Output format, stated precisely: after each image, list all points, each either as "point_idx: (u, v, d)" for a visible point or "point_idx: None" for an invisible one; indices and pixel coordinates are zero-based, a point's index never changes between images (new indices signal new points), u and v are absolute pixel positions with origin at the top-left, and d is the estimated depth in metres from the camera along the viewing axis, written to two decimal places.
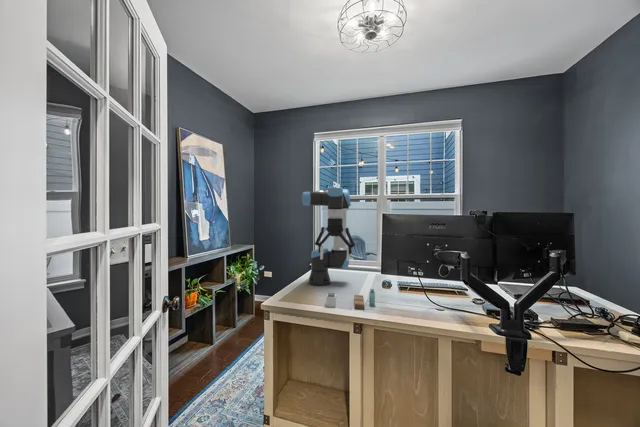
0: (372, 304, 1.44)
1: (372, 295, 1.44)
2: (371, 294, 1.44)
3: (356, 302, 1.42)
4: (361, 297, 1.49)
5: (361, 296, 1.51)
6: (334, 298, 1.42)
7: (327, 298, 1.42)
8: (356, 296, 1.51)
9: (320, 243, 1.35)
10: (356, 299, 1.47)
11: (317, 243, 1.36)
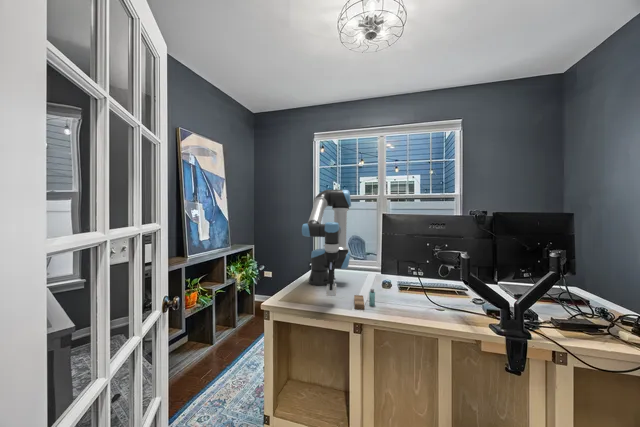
0: (372, 304, 1.44)
1: (372, 295, 1.44)
2: (371, 294, 1.44)
3: (356, 302, 1.42)
4: (361, 297, 1.49)
5: (361, 296, 1.51)
6: (334, 287, 1.42)
7: (327, 287, 1.43)
8: (356, 296, 1.51)
9: None
10: (356, 299, 1.47)
11: None
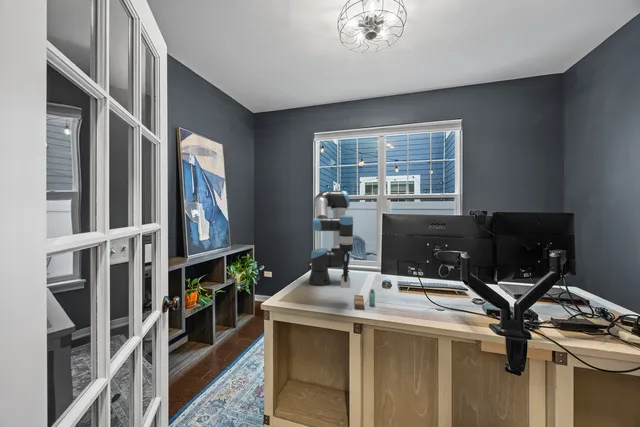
0: (372, 304, 1.44)
1: (372, 295, 1.44)
2: (371, 294, 1.44)
3: (356, 302, 1.42)
4: (361, 297, 1.49)
5: (361, 296, 1.51)
6: (349, 279, 1.45)
7: (342, 279, 1.45)
8: (356, 296, 1.51)
9: None
10: (356, 299, 1.47)
11: None
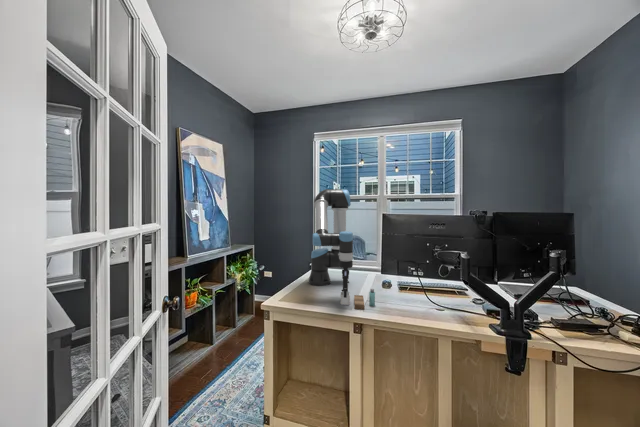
0: (372, 304, 1.44)
1: (372, 295, 1.44)
2: (371, 294, 1.44)
3: (356, 302, 1.42)
4: (361, 297, 1.49)
5: (361, 296, 1.51)
6: (348, 296, 1.45)
7: (341, 296, 1.46)
8: (356, 296, 1.51)
9: None
10: (356, 299, 1.47)
11: None
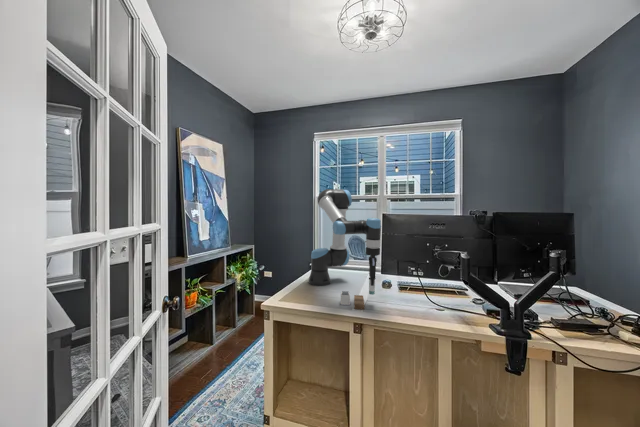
0: (372, 293, 1.44)
1: None
2: None
3: (356, 302, 1.42)
4: (361, 297, 1.49)
5: (361, 296, 1.51)
6: (348, 296, 1.45)
7: (341, 296, 1.46)
8: (356, 296, 1.51)
9: (369, 273, 1.48)
10: (356, 299, 1.47)
11: (369, 272, 1.49)
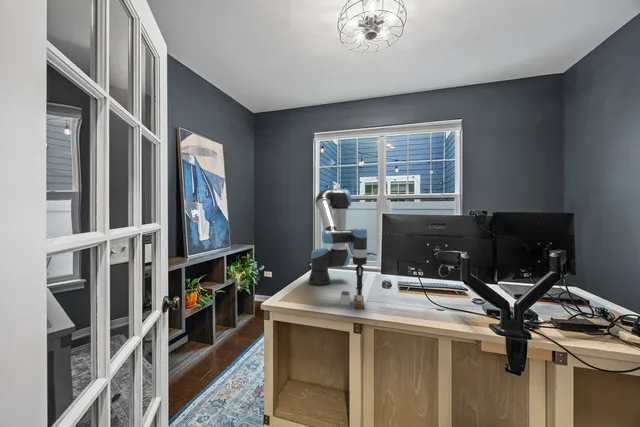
0: None
1: None
2: None
3: (356, 302, 1.42)
4: None
5: None
6: (348, 296, 1.45)
7: (341, 296, 1.46)
8: (356, 296, 1.51)
9: None
10: (356, 299, 1.47)
11: None
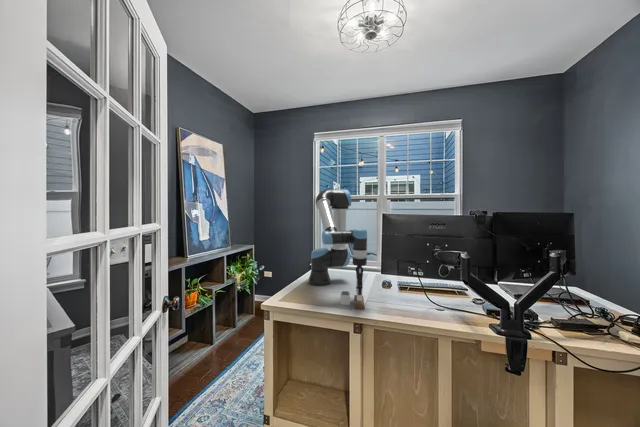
0: None
1: None
2: None
3: (356, 302, 1.42)
4: None
5: None
6: (348, 296, 1.45)
7: (341, 296, 1.46)
8: (356, 296, 1.51)
9: None
10: (356, 299, 1.47)
11: (356, 276, 1.54)
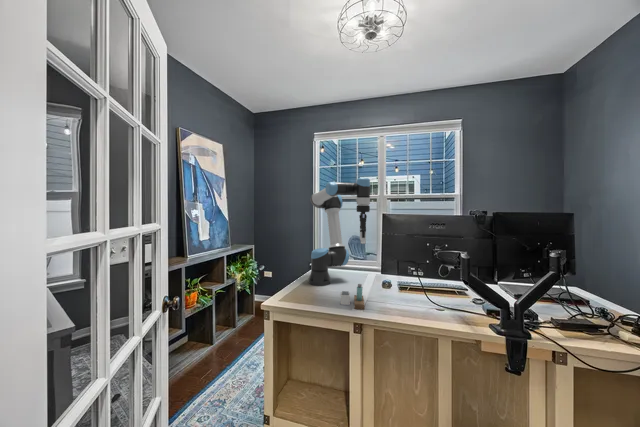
0: (359, 299, 1.44)
1: (359, 290, 1.44)
2: (358, 289, 1.44)
3: (356, 302, 1.42)
4: None
5: None
6: (348, 296, 1.45)
7: (341, 296, 1.46)
8: (356, 296, 1.51)
9: (360, 226, 1.62)
10: (356, 299, 1.47)
11: None
